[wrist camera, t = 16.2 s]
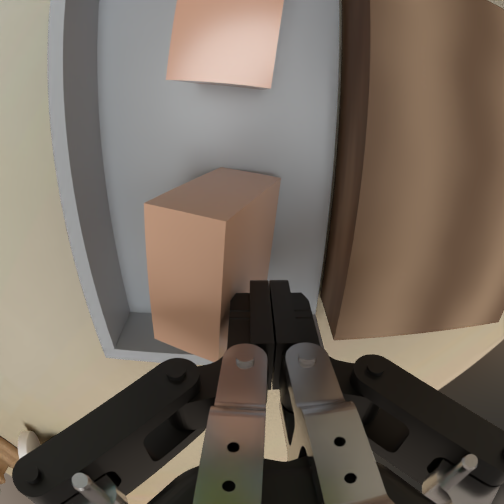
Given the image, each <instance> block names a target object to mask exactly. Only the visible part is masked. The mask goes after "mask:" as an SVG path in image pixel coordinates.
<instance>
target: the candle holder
mask: <svg viewBox="0 0 504 504" xmlns="http://www.w3.org/2000/svg"><path fill="white" fill-rule="evenodd" d="M18 460H19V455H18V449H17V448H16V447H15V446H13V445H12V444H10V443H9V442H8V441H6V440H5V439H3V438H2V437H0V484H2V483H5V478H4V473H5V471H6V470H7V468H8V466H9V467H11V468H14V466H15V464H16V462H17V461H18ZM0 493H1V489H0Z"/></svg>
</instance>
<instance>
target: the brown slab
mask: <svg viewBox="0 0 504 504" xmlns="http://www.w3.org/2000/svg"><path fill="white" fill-rule="evenodd" d="M320 296H321V299H322V303H323V306H324V309H325V312H326V316H327V319H328V322H329V326H330V329H331V332H332V336H333V339H334V340H346V339H361V338H375V337H387V336H398V335H408V334H417V333H426V332H434V331H442V330H450V329H457V328H464V327H471V326H477V325H484V324H490V323H496V322H499V320H500V318H501V315H502V313H503V311H504V9H502V8H501V7H499V6H497V5H495V4H493V3H491V2H489V1H487V0H342V66H341V94H340V114H339V131H338V145H337V158H336V170H335V181H334V192H333V201H332V211H331V220H330V228H329V237H328V245H327V253H326V260H325V267H324V275H323V281H322V288H321V295H320Z"/></svg>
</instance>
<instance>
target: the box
mask: <svg viewBox="0 0 504 504" xmlns="http://www.w3.org/2000/svg"><path fill="white" fill-rule="evenodd" d="M176 3H177V0H50V12H49V27H48V98H49V114H50V126H51V136H52V145H53V154H54V161H55V168H56V175H57V181H58V187H59V193H60V199H61V204H62V209H63V214H64V219H65V224H66V228H67V233H68V237H69V241H70V246H71V250H72V254H73V257H74V261H75V265H76V269H77V272H78V276H79V279H80V283H81V286H82V290H83V293H84V296H85V299H86V303H87V306H88V309H89V312H90V315H91V318H92V321H93V324H94V327H95V329H96V332H97V335H98V338H99V341H100V343H101V346H102V349H103V351H104V354H105V356H106V358H115V359H125V360H135V361H147V362H160V363H162V362H164V361H166V360H168V359H172V358H184V359H188V360H190V361H192V362H193V363H195V364H196V365H207V364H211V363H213V362H212V361H209V360H207V359H204V358H201V357H199V356H196V355H194V354H191V353H188V352H186V351H183V350H181V349H178V348H176V347H173V346H171V345H169V344H166V343H164V342H161V341H159V340H157V339H154V331H153V322H152V314H151V304H150V294H149V283H148V271H147V258H146V242H145V222H144V203H145V202H147V201H149V200H151V199H153V198H155V197H157V196H159V195H161V194H163V193H165V192H168V191H170V190H172V189H174V188H176V187H178V186H180V185H182V184H184V183H187V182H189V181H191V180H193V179H195V178H197V177H200V176H202V175H204V174H206V173H209V172H211V171H213V170H215V169H218V168H220V167H224V168H230V169H236V170H241V171H247V172H253V173H258V174H264V175H269V176H274V177H279V178H281V182H280V190H279V197H278V205H277V212H276V220H275V227H274V234H273V241H272V249H271V256H270V263H269V270H268V277H267V280H268V283H269V280H288V281H289V286H290V291H291V293H299V292H302V294H303V295H304V296H305V297H306V298H307V299H308V300H309V303H310V307H311V311H312V314H313V319H314V322H315V326H316V330H317V334H318V338H319V342H320V346H321V347H322V348H323V349H324V346H323V342H322V338H321V335H320V331H319V327H318V323H317V319H316V315H315V313H316V307H317V301H318V294H319V287H320V280H321V273H322V266H323V258H324V250H325V242H326V234H327V225H328V216H329V207H330V197H331V186H332V175H333V164H334V151H335V137H336V121H337V102H338V77H339V0H284V3H283V10H282V17H281V24H280V30H279V37H278V44H277V51H276V58H275V64H274V71H273V78H272V85H271V89H266V90H258V89H250V88H241V87H231V86H221V85H208V84H195V83H188V82H180V81H172V80H166V73H167V64H168V56H169V49H170V41H171V34H172V28H173V21H174V15H175V9H176Z"/></svg>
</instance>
